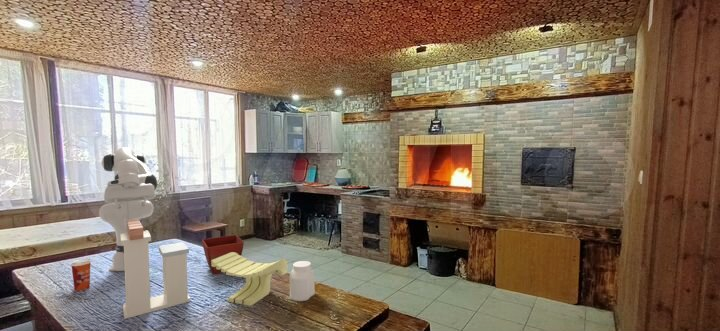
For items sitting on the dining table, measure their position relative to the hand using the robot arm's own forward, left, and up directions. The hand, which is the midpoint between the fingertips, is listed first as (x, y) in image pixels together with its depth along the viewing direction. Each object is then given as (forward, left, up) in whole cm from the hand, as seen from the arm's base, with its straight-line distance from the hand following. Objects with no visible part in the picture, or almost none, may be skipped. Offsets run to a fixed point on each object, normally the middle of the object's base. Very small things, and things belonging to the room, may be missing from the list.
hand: (131, 206), depth 152 cm
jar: (+56, +61, -42) cm, 93 cm away
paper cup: (-21, -20, -42) cm, 51 cm away
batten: (+19, 0, -9) cm, 22 cm away
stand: (+23, +7, -41) cm, 48 cm away
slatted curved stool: (+41, +42, -42) cm, 72 cm away
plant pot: (-3, +42, -42) cm, 59 cm away
